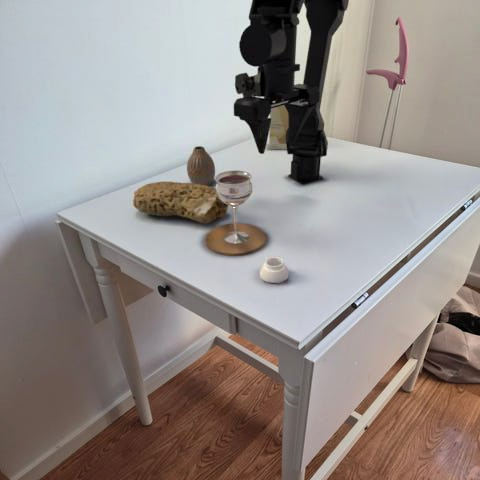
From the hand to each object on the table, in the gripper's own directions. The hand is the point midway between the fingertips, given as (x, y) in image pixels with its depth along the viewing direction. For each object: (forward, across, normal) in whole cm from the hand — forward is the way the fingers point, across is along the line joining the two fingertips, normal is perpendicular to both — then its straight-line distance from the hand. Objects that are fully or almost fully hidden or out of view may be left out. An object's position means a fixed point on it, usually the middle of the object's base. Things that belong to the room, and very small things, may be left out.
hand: (276, 147), depth 85 cm
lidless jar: (+14, +20, +18) cm, 30 cm away
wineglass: (+13, +16, +4) cm, 21 cm away
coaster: (+13, +16, +4) cm, 21 cm away
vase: (+13, +1, -24) cm, 27 cm away
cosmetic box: (+13, -32, -26) cm, 43 cm away
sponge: (+14, +16, -14) cm, 25 cm away
